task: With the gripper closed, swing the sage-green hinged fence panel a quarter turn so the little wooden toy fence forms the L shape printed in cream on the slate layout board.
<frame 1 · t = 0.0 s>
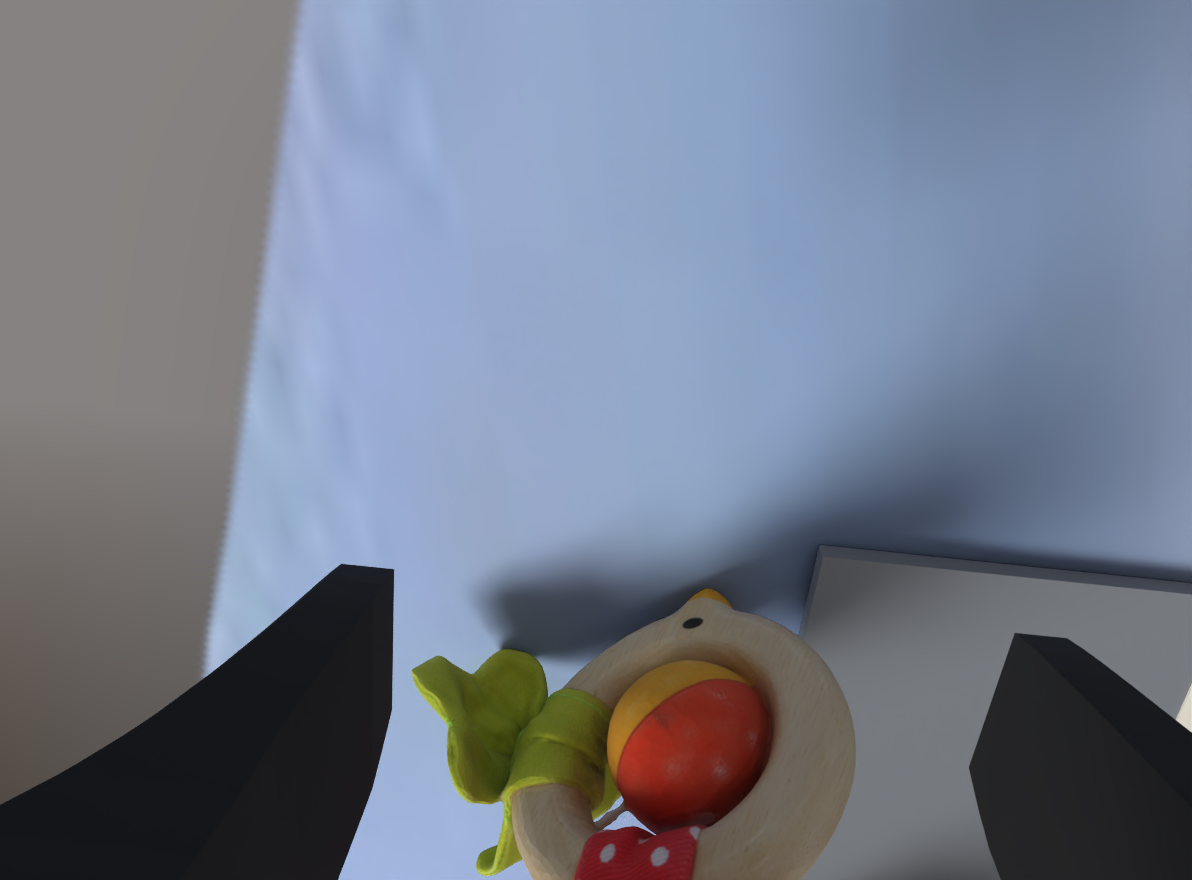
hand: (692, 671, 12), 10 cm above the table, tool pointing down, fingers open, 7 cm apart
bird rattle: (625, 645, 24), on the table
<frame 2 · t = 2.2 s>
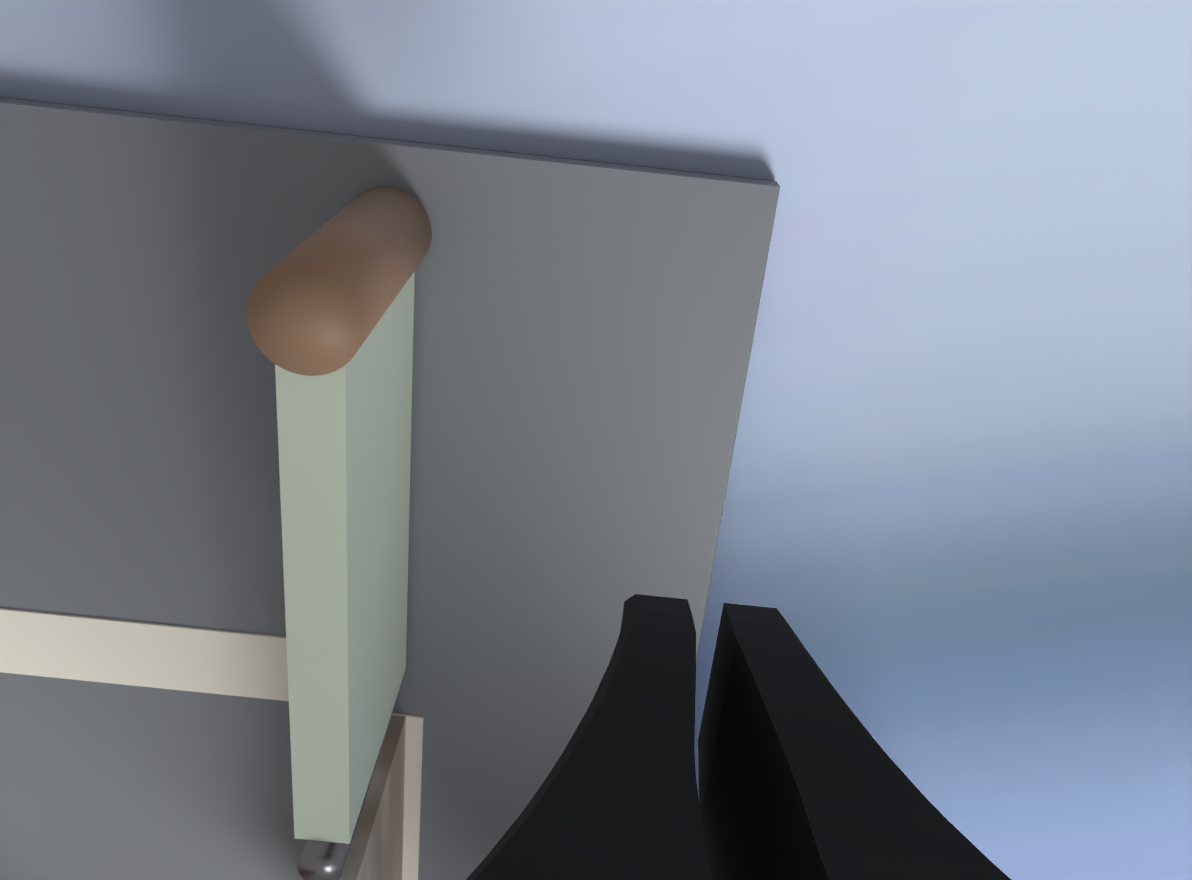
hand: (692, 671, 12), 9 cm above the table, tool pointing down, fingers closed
fence fixed section: (383, 836, 25), resting on layout board
layout board: (282, 619, 23), on the table
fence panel: (354, 539, 18), point 3 cm above the table, hinge at 0.0°
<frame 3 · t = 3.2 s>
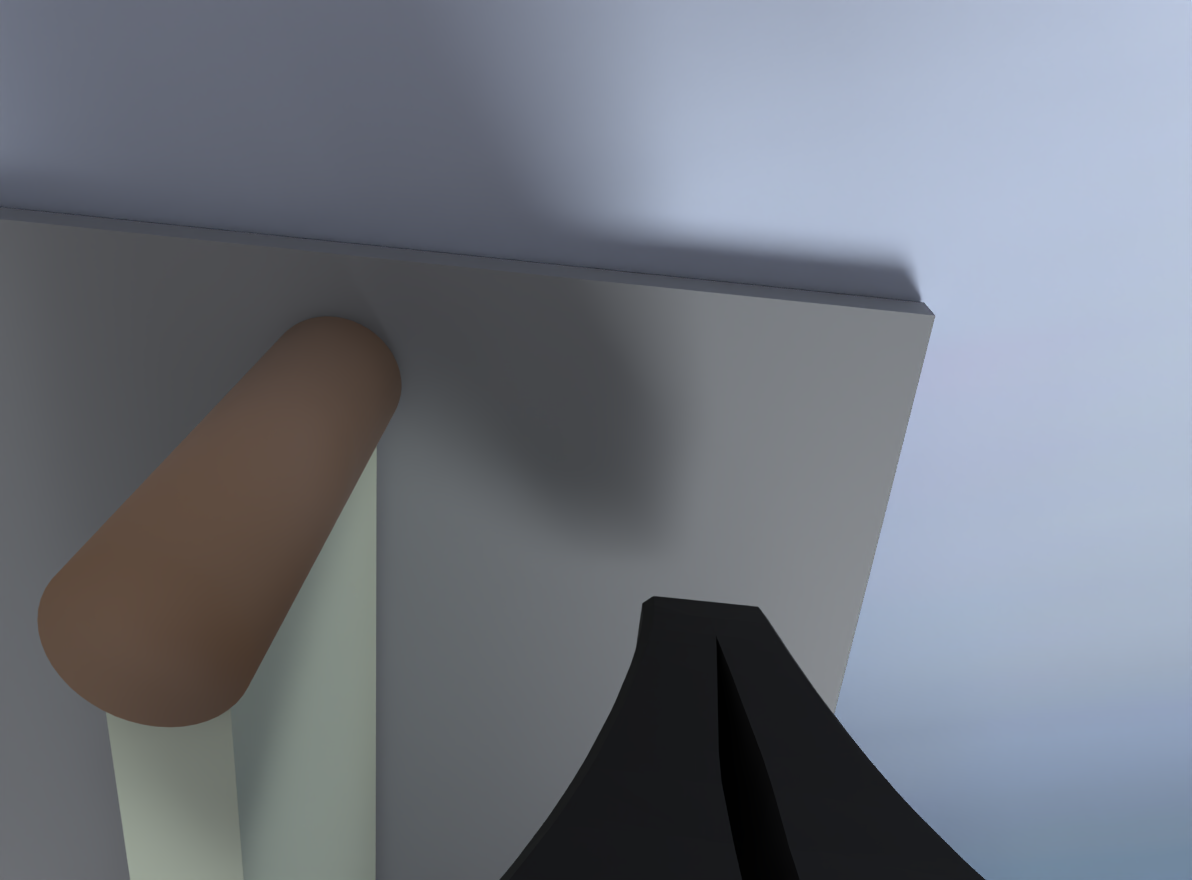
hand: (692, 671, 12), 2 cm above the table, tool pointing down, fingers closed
layout board: (206, 873, 17), on the table
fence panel: (283, 853, 12), point 3 cm above the table, hinge at 0.0°
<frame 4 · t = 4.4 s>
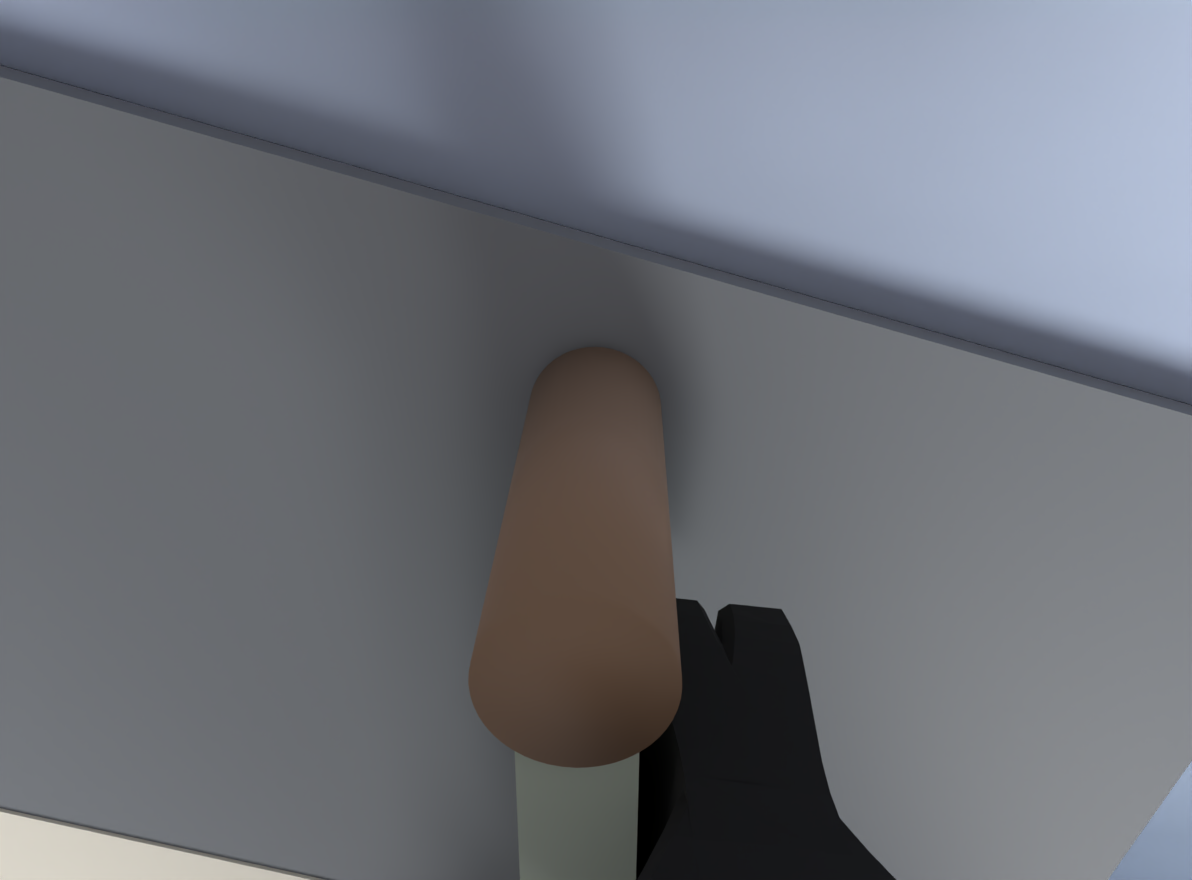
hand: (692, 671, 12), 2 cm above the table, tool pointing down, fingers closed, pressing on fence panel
layout board: (466, 879, 17), on the table
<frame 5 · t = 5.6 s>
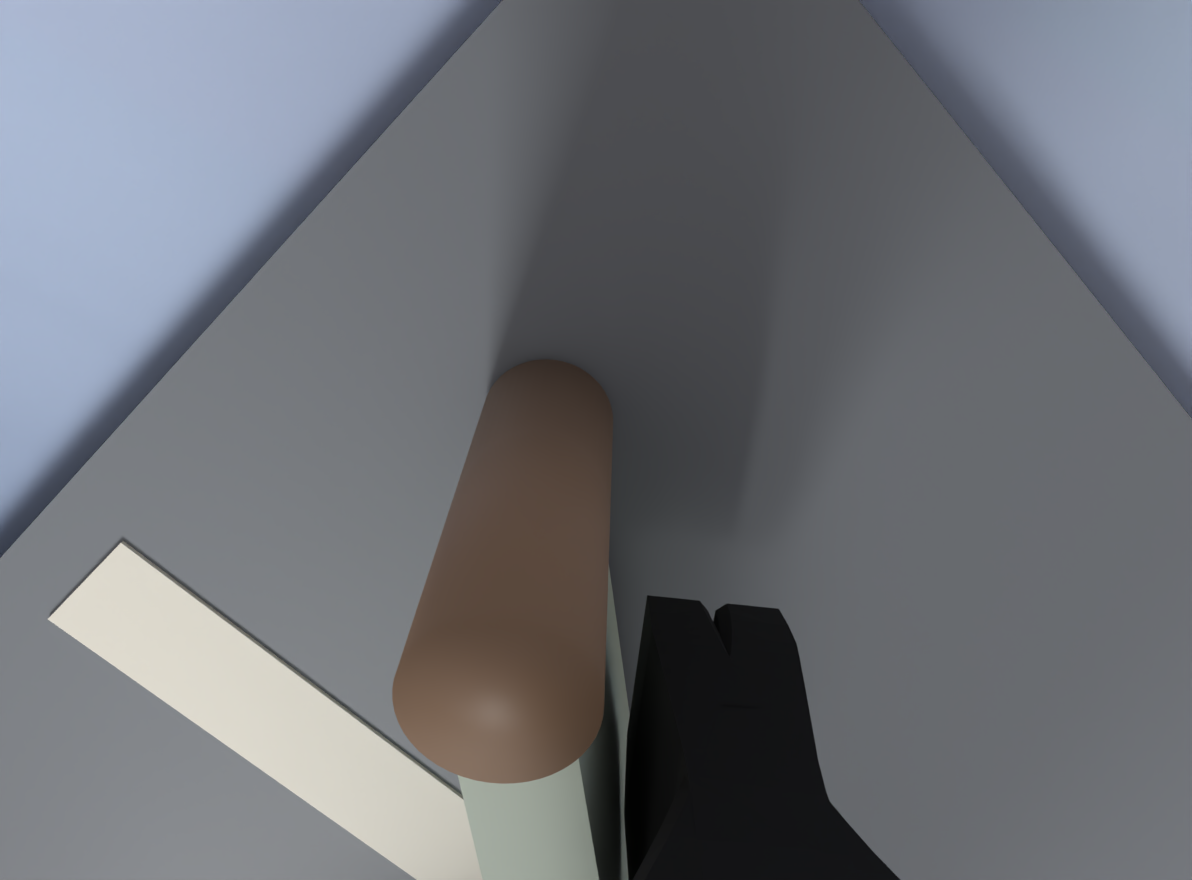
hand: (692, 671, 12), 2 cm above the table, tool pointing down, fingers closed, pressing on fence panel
layout board: (576, 848, 16), on the table
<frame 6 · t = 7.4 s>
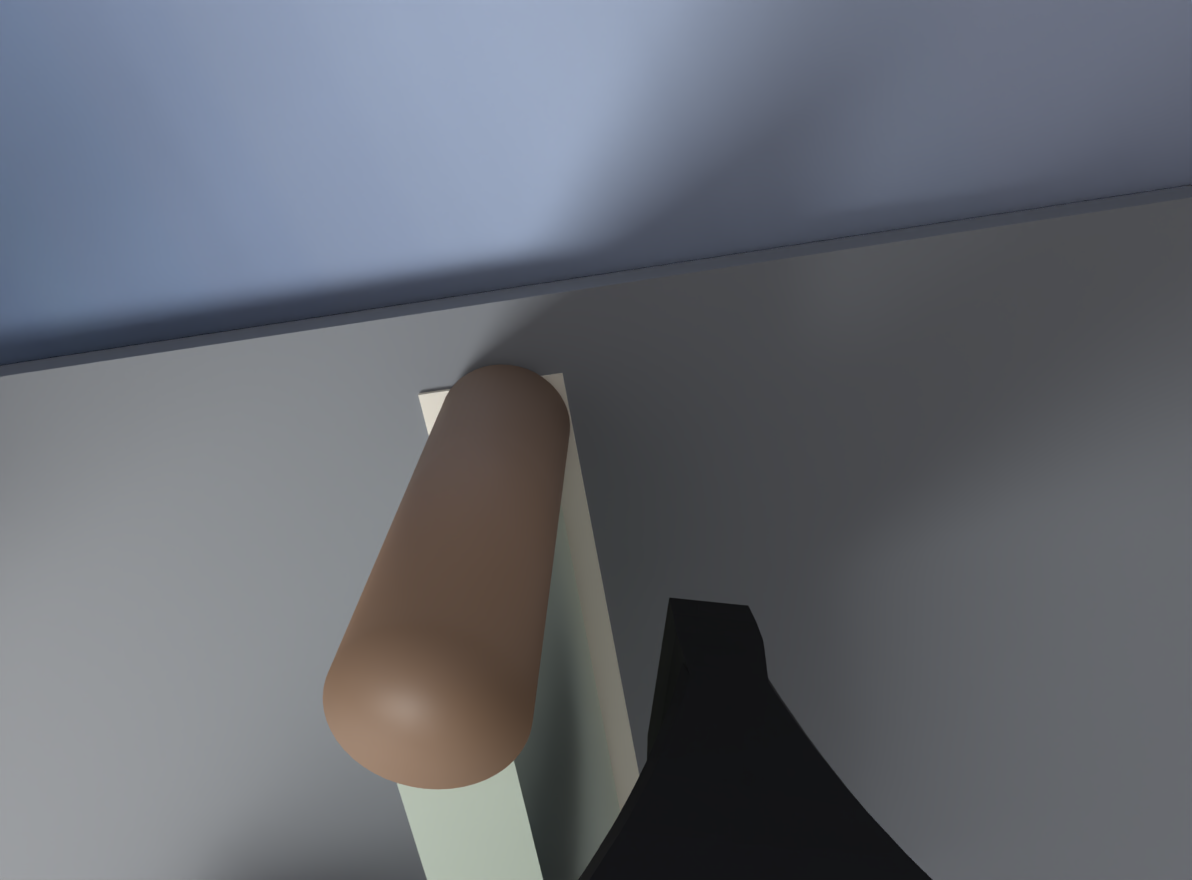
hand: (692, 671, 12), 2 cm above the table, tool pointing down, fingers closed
layout board: (663, 845, 16), on the table
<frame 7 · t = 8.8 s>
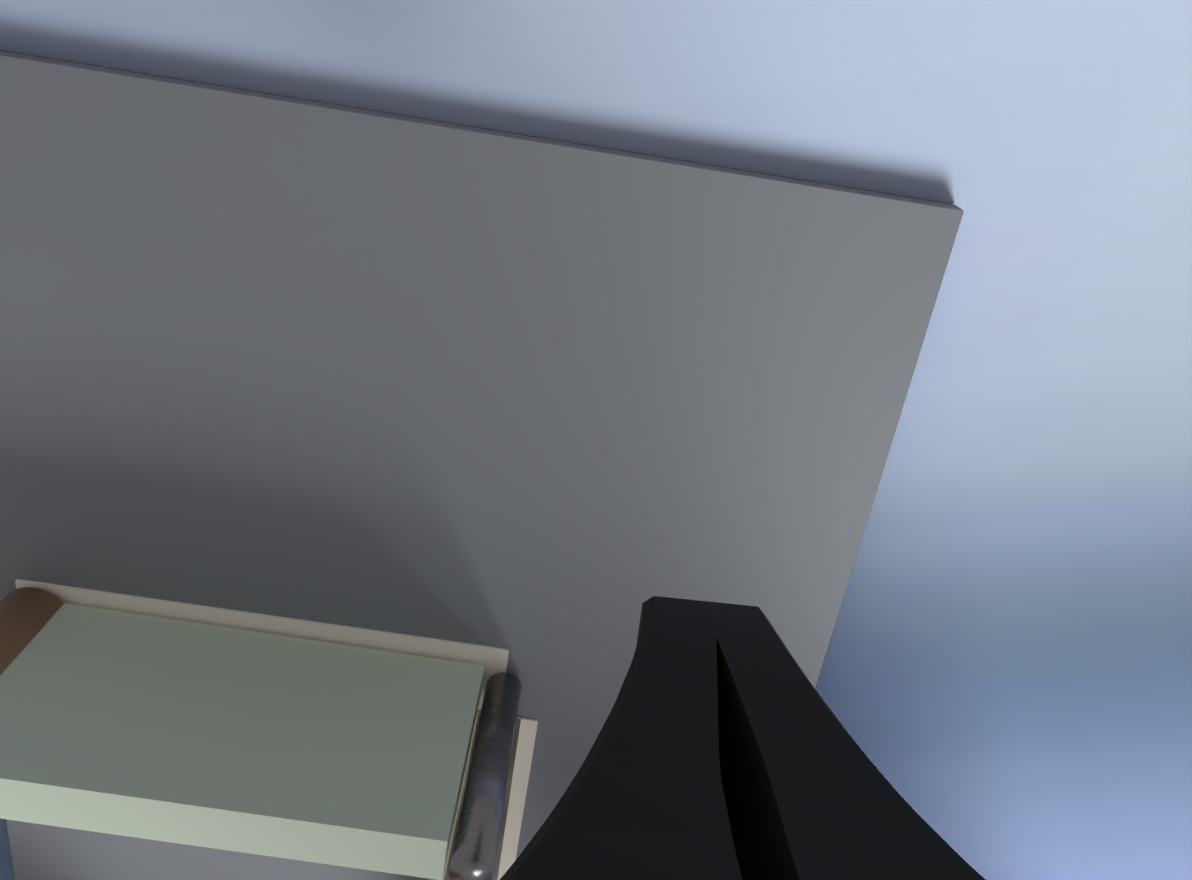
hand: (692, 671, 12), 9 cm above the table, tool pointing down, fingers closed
fence fixed section: (482, 837, 25), resting on layout board
layout board: (403, 616, 23), on the table
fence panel: (221, 730, 20), point 3 cm above the table, hinge at 89.5°
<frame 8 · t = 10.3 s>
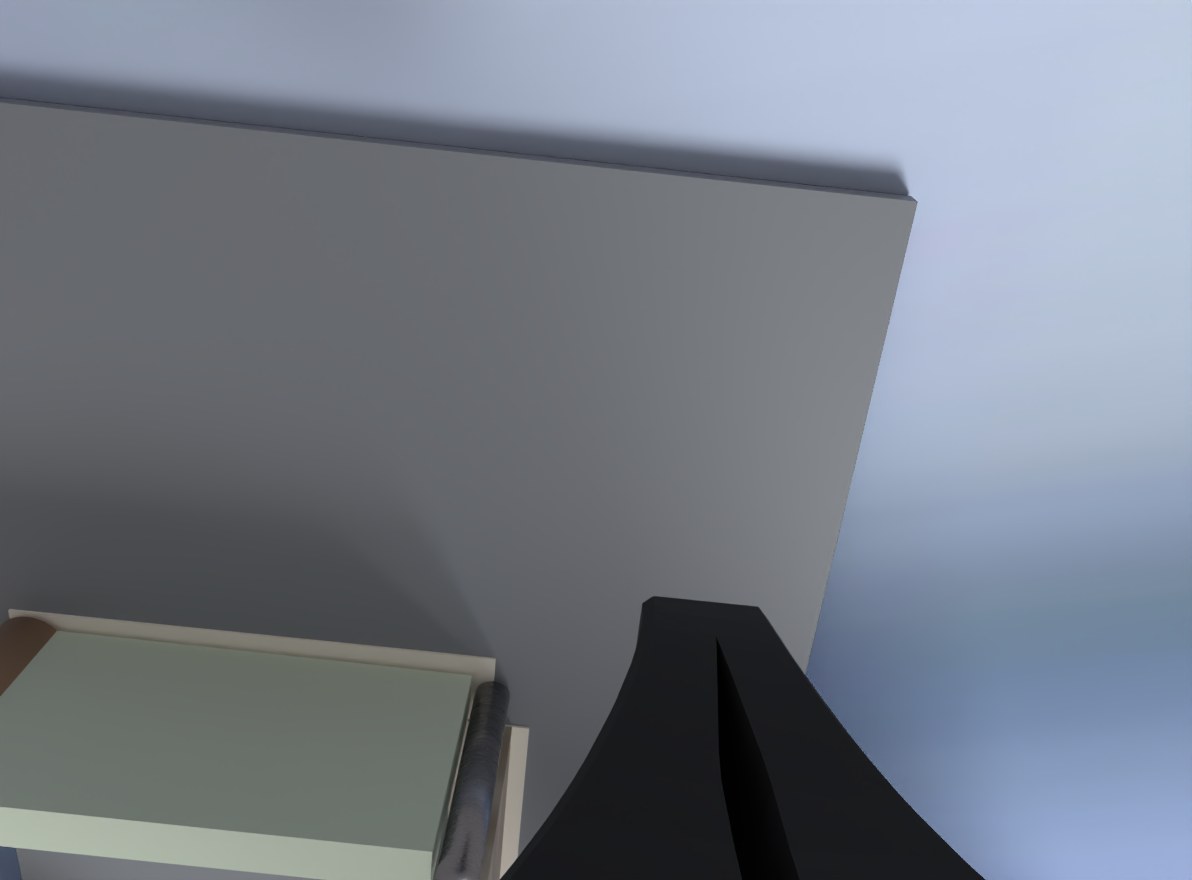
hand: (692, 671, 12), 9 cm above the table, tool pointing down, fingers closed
fence fixed section: (482, 846, 25), resting on layout board
layout board: (390, 630, 23), on the table
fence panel: (211, 750, 20), point 3 cm above the table, hinge at 89.5°
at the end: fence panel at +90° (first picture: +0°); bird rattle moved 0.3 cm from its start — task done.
